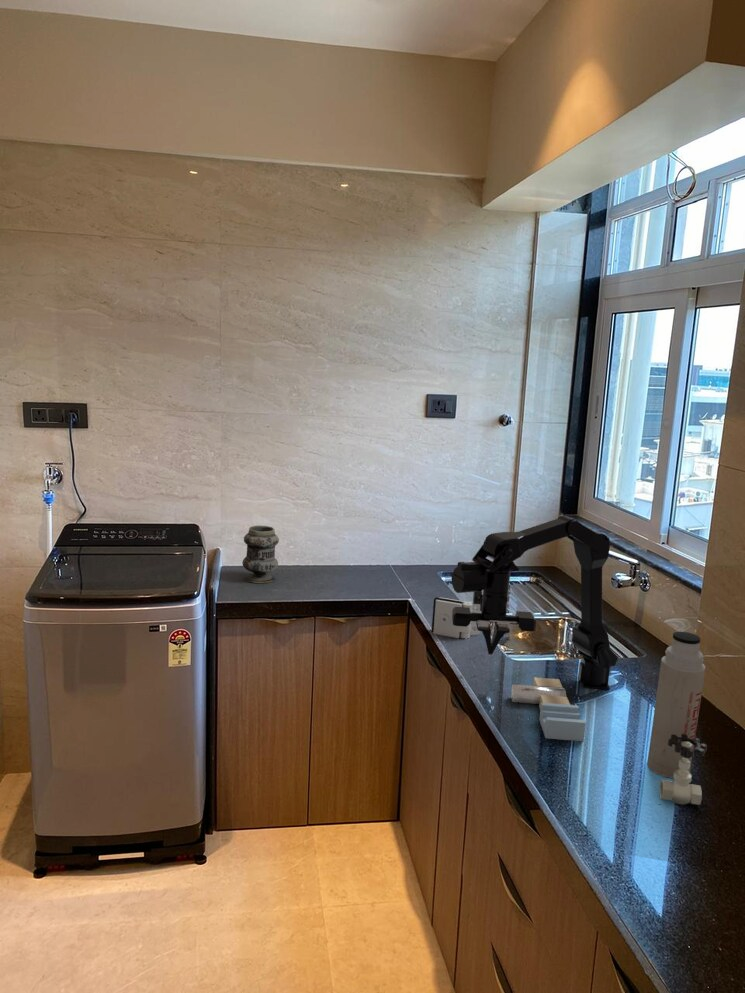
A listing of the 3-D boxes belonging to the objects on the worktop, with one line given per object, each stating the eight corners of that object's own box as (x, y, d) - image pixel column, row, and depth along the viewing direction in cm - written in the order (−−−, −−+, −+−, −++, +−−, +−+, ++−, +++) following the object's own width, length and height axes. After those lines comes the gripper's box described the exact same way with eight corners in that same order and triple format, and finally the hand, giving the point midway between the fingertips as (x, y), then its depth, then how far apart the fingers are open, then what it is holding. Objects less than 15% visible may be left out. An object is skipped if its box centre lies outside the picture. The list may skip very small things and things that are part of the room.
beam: (557, 690, 181) (559, 679, 180) (569, 718, 167) (570, 705, 167) (532, 688, 181) (534, 677, 181) (542, 716, 167) (543, 703, 167)
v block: (575, 722, 165) (577, 705, 164) (583, 741, 157) (585, 722, 156) (539, 720, 166) (541, 702, 165) (545, 738, 158) (547, 719, 157)
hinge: (479, 634, 216) (482, 601, 214) (479, 641, 210) (483, 607, 209) (431, 629, 217) (434, 596, 215) (430, 635, 212) (433, 602, 210)
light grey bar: (561, 700, 176) (563, 685, 175) (564, 709, 172) (566, 693, 171) (510, 696, 177) (512, 681, 176) (512, 705, 173) (514, 689, 172)
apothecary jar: (274, 585, 249) (276, 533, 245) (238, 583, 249) (240, 531, 245) (279, 575, 261) (281, 525, 257) (245, 573, 261) (246, 523, 257)
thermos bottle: (698, 773, 147) (719, 640, 142) (670, 782, 143) (690, 645, 138) (666, 754, 154) (684, 625, 149) (638, 761, 150) (656, 630, 145)
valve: (701, 816, 133) (711, 754, 131) (663, 809, 134) (671, 748, 132) (693, 795, 140) (702, 736, 137) (656, 789, 141) (665, 731, 139)
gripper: (531, 581, 177) (525, 643, 180) (453, 576, 178) (448, 638, 181) (539, 596, 166) (532, 662, 169) (455, 590, 167) (450, 656, 170)
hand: (490, 653), depth 173 cm, fingers closed
